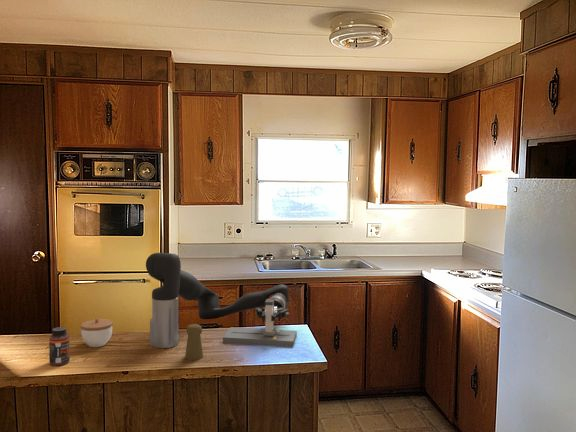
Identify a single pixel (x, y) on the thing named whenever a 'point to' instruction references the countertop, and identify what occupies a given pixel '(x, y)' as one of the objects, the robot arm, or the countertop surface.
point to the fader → (269, 318)
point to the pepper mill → (194, 342)
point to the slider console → (259, 337)
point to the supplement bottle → (59, 347)
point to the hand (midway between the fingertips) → (268, 318)
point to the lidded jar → (96, 332)
